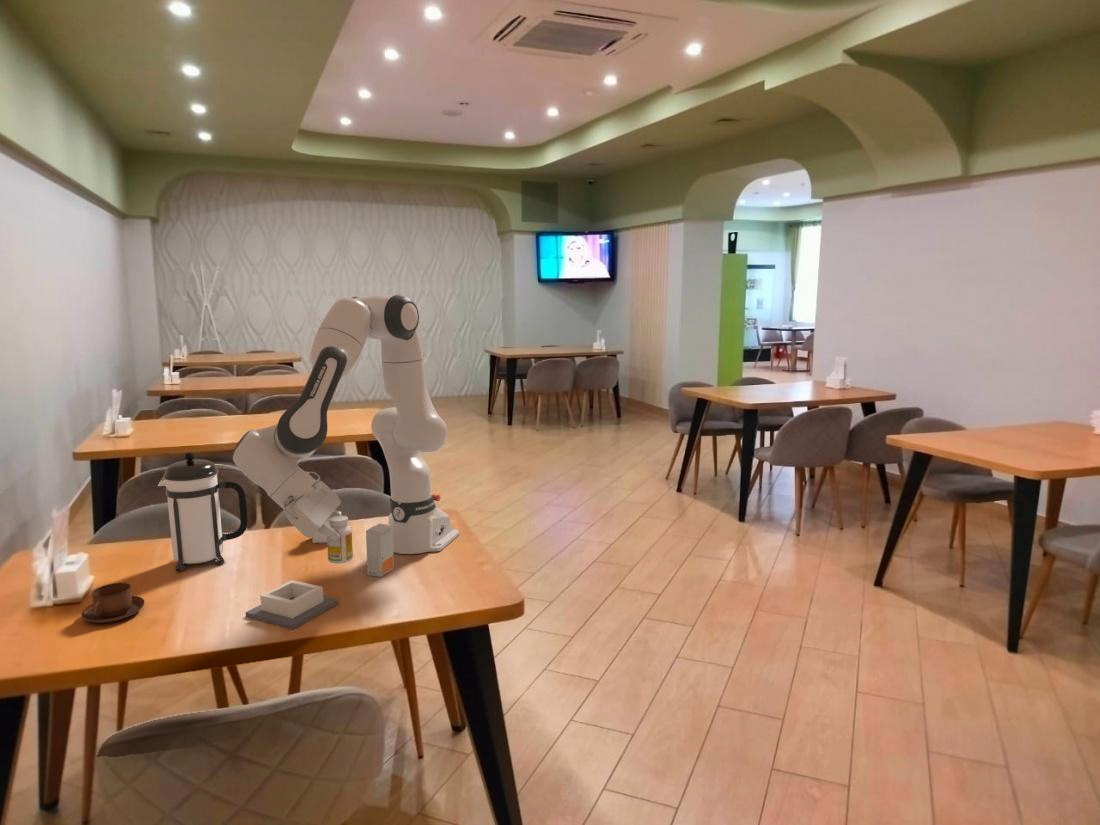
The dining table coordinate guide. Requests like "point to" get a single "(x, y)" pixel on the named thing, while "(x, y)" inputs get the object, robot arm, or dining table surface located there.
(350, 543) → the supplement bottle
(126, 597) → the cup and saucer
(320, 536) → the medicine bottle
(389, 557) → the skincare box
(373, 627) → the dining table surface
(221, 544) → the coffee press
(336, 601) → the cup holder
